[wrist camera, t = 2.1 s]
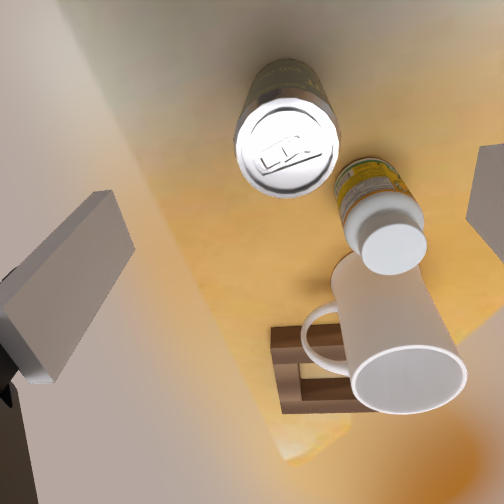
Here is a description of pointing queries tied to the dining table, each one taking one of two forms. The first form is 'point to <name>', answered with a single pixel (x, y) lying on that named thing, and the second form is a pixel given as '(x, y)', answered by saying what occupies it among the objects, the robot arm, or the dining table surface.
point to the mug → (390, 340)
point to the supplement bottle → (380, 217)
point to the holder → (311, 390)
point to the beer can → (287, 131)
